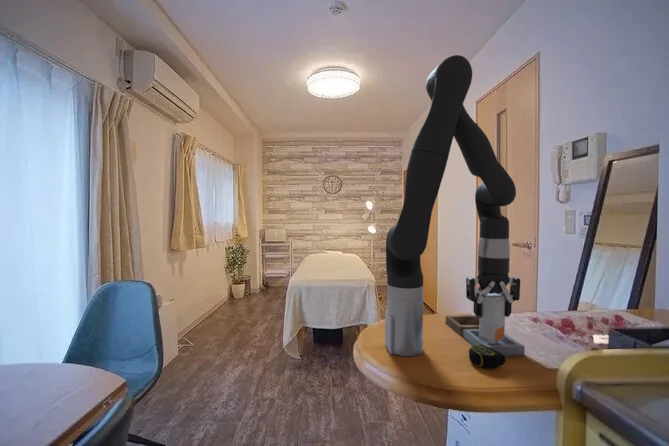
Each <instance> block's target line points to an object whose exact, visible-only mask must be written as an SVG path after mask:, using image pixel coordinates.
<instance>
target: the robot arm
mask: <svg viewBox="0 0 669 446" xmlns="http://www.w3.org/2000/svg"><path fill="white" fill-rule="evenodd" d="M472 80H473V69H472V65H471V63H470V62H469V60H468V59H467V58H466V57H465V56H462V55H458V54H456V55H451V56H449V57H447V58H445V59H444V60H442V61H441V62H440V63H439V64H438V65H437V66H436V67H435V68H434V69H433V70H432V71H431V72H430V74H429V75H428V77H427V79H426V82H425V88H426V89H425V90H426V92H427V95H428V96H429V98H430V100H431V105H430V108H429V111H428V114H427V116H426V118H425V120H424V121H423V124H422V125H421V128H420V129H419V132H418V134H417V135H416V138H415V141H414V143H413V145H412V148H411V152H410V155H409V158H408V159H409V160H408V163H407V168H406V172H405V173H406V174H405V185H404V199H403V205H402V209H401V211H400V215H399V217H398V220H397V222H396V223H397V224H395V225H393V226H392V227H391V228H390V229H388V232H387V234H386V239H385V271H386V280H387V281H386V282H387V283H386V285H387V286H386V289H387V290H386V291H387V292H386V293H387V294H386V295H387V296H386V298H387V299H386V300H387V301H386V309H385V312H384V345H385V347H386V349H387V350H388V353H389V354H390V355H397V356H401V357H402V356H403V357H416V356H419V355H421V354H422V353H423V348H424V347H423V345H424V341H423V340H424V338H423V337H424V335H423V334H424V333H423V332H424V331H423V330H424V324H423V323H424V275H423V271H422V270H423V269H422V265H421V256H422V255H423V254H424V252H425V251H426V248H427V246H428V239H429V238H428V237H429V232H430V224H431V221H432V216H433V215H432V214H433V210H434V207H435V204H436V200H437V198H438V195H439V191H440V187H441V184H442V180H443V177H444V174H445V171H446V168H447V163H448V160H449V156H450V152H451V147H452V144H453V140H454V139H455V141H456V144H457V145H458V147H459V149H460V152H461V155H462V157H463V159H464V161H465V164H466V166H467V168H468V170H469V173H470V174H471V175H472V176H475V177H478V178H480V180H481V181H482V182H481V183H479V185H478V186H477V188H476V190H475V194H474V201H475V202H474V203H475V207H476V211H477V217H478V220H479V239H478V250H477V272H478V273H477V274H478V275H477V277H470V276H467V277H466V278H465V282H466V283H465V287H466V288H465V291H466V292H465V296H466V299H467V300H469V301H471V302H473V308H472V309H473V310H472V312H473V315H476V316H477V317H482V304H481V302H482V301H483V299H484V298H485V297H486V296H487V295H488V293H489V294H492V293H495V294H500V295H503V296H505V318H509V317H510V316H511V314H512V306H513V305H512V303H513V302H515V301H519V300H520V295H521V294H520V293H521V279H520V278H518V277H516V276H509V274H510V260H511V259H510V256H511V254H510V251H511V245H510V221H509V219H508V218H507V216H504V215H502V213H501V207H507V206H509V205H511V204H512V203H513V202H514V201H515V199H516V196H517V189H516V184H515V182H514V181H513V178H512V177H511V176H510V174H509V173H508V172H507V171H506V169H505V168H504V167H503V165H502V164H501V163H500V162H499V161H498V159H497V156H496V154H495V151H494V148H493V147H492V144H491V142H490V140H489V138H488V136H487V135H486V133H485V132H484V131H483V129H482V128H481V127H480V126H479V125H478V124H477V123H476V121H474V119H473V118H471V116H470V114H469V113H468V111H467V110H466V108H465V106H464V102H465V101H466V98H467V95H468V92H469V90H470V87H471V83H472ZM477 284H478V285H477ZM508 285H509V289H508V288H507V286H508ZM476 286H478V287H477V288H476Z"/></svg>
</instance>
